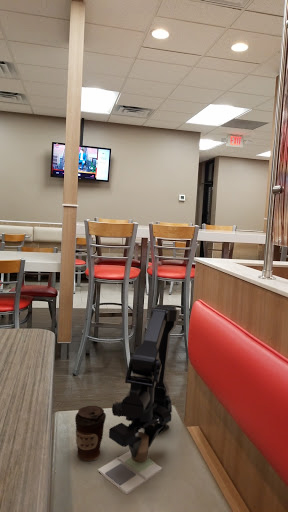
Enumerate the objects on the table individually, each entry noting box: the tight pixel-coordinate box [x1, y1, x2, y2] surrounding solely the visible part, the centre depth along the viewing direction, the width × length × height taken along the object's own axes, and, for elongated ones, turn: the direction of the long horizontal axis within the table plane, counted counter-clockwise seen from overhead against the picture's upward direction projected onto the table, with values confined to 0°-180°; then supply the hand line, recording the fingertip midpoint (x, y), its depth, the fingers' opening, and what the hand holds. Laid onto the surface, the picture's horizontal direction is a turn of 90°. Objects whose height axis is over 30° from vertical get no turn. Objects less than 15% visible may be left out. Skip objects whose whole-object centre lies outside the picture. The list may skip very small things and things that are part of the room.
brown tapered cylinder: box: [131, 431, 149, 463], centre depth 104 cm, size 4×4×6 cm
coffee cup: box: [74, 405, 107, 462], centre depth 107 cm, size 9×8×13 cm
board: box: [97, 450, 163, 495], centre depth 102 cm, size 13×11×1 cm
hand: (140, 453), depth 104 cm, fingers closed on brown tapered cylinder, 4 cm apart
